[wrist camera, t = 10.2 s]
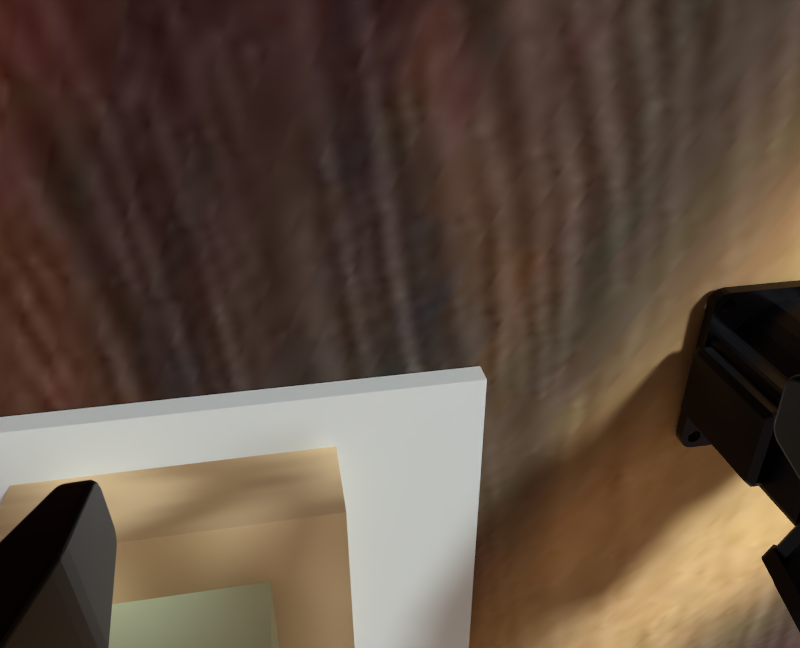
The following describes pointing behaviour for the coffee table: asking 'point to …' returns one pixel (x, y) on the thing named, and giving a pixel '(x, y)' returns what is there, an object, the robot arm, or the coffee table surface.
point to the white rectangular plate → (359, 468)
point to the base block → (230, 535)
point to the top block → (198, 620)
